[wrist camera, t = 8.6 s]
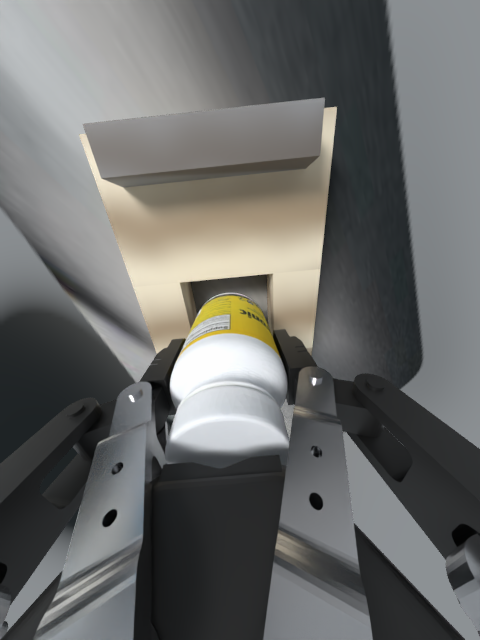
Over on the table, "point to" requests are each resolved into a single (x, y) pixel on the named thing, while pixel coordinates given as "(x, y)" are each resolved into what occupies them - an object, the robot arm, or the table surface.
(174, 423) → the supplement bottle
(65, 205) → the table surface
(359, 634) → the robot arm
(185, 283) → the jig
